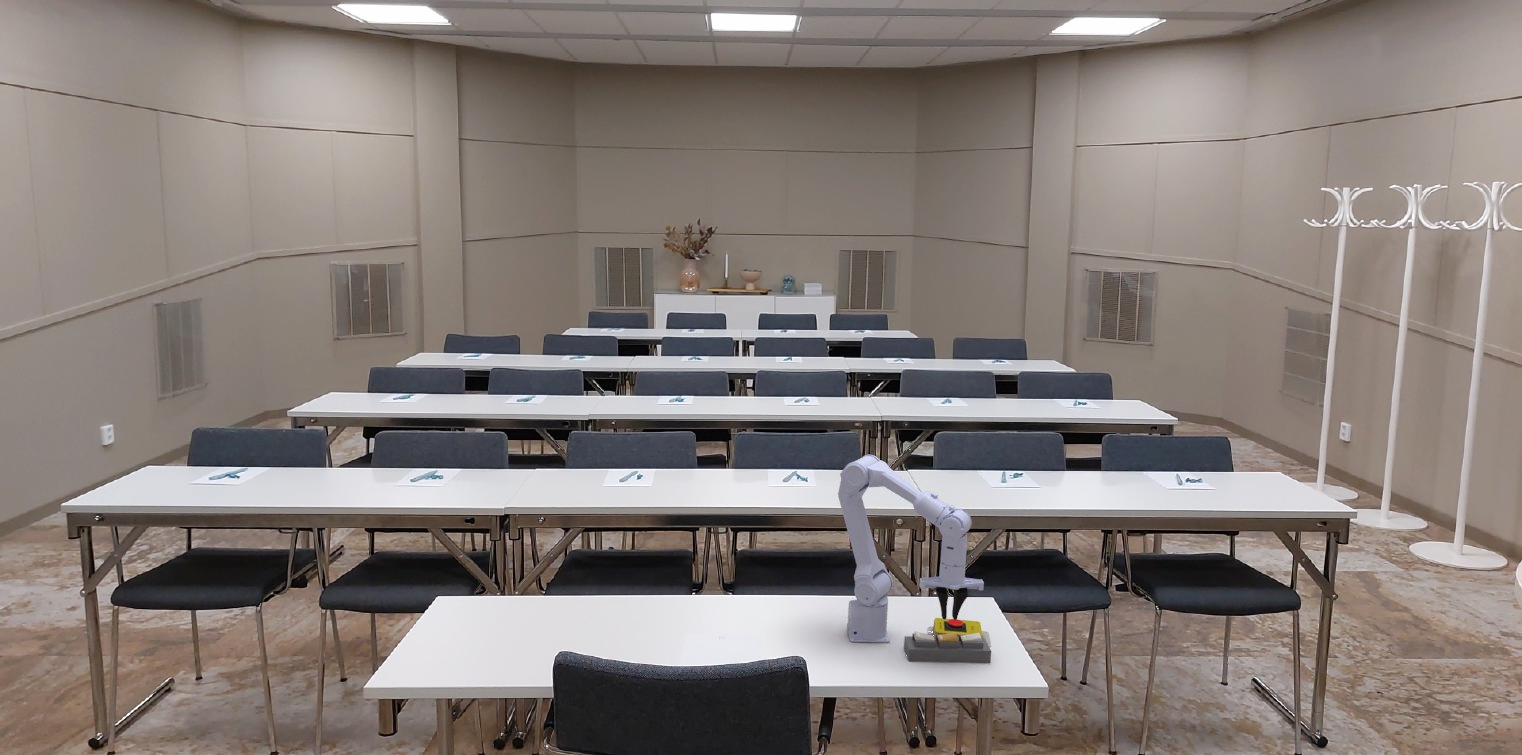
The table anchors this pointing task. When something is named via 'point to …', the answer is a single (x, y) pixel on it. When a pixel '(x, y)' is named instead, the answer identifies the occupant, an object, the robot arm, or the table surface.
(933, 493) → the robot arm
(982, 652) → the switch strip
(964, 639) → the rocker right
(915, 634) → the rocker left
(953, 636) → the rocker amber
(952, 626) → the emergency button
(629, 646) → the table surface
